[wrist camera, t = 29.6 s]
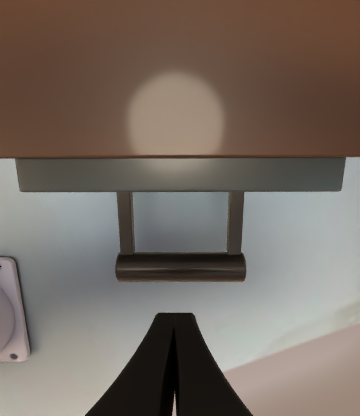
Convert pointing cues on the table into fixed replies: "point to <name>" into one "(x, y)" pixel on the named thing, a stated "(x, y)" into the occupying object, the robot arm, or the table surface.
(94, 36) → the cabinet
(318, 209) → the table surface
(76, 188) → the drawer
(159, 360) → the robot arm
